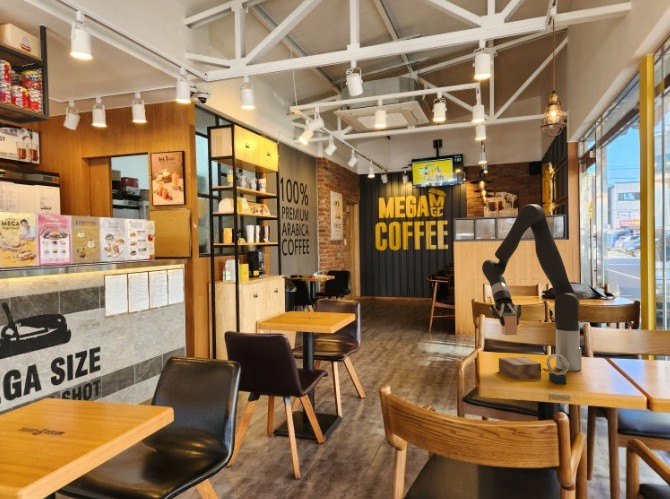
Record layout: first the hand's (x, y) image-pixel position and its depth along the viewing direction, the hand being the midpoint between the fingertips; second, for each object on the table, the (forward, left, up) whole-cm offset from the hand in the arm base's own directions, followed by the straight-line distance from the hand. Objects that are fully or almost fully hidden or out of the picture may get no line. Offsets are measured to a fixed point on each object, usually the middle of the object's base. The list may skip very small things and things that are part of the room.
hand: (510, 325), depth 197 cm
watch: (-12, +17, -20) cm, 29 cm away
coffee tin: (0, -2, -4) cm, 5 cm away
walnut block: (-1, +6, -20) cm, 21 cm away
